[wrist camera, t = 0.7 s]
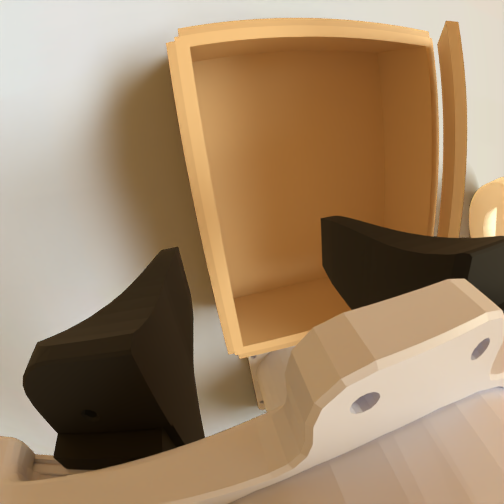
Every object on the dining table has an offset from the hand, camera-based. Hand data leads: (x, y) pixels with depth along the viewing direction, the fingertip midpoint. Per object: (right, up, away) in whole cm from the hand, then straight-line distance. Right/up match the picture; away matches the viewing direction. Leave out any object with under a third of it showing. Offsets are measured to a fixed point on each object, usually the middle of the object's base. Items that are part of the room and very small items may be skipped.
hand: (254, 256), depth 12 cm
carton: (+3, +6, +10) cm, 12 cm away
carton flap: (+10, +3, +2) cm, 10 cm away
